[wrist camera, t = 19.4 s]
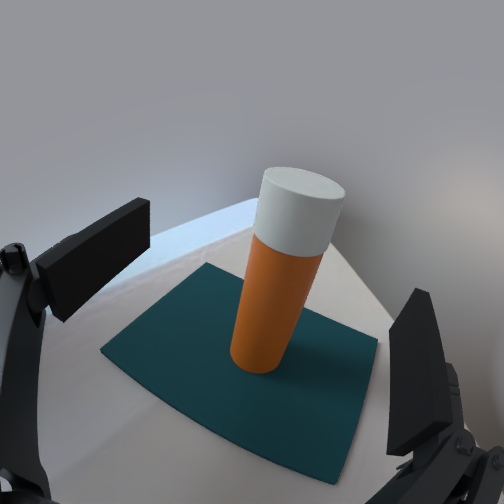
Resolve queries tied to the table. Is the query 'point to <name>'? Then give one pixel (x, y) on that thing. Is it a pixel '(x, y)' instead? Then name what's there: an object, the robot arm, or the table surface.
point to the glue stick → (282, 262)
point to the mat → (251, 375)
